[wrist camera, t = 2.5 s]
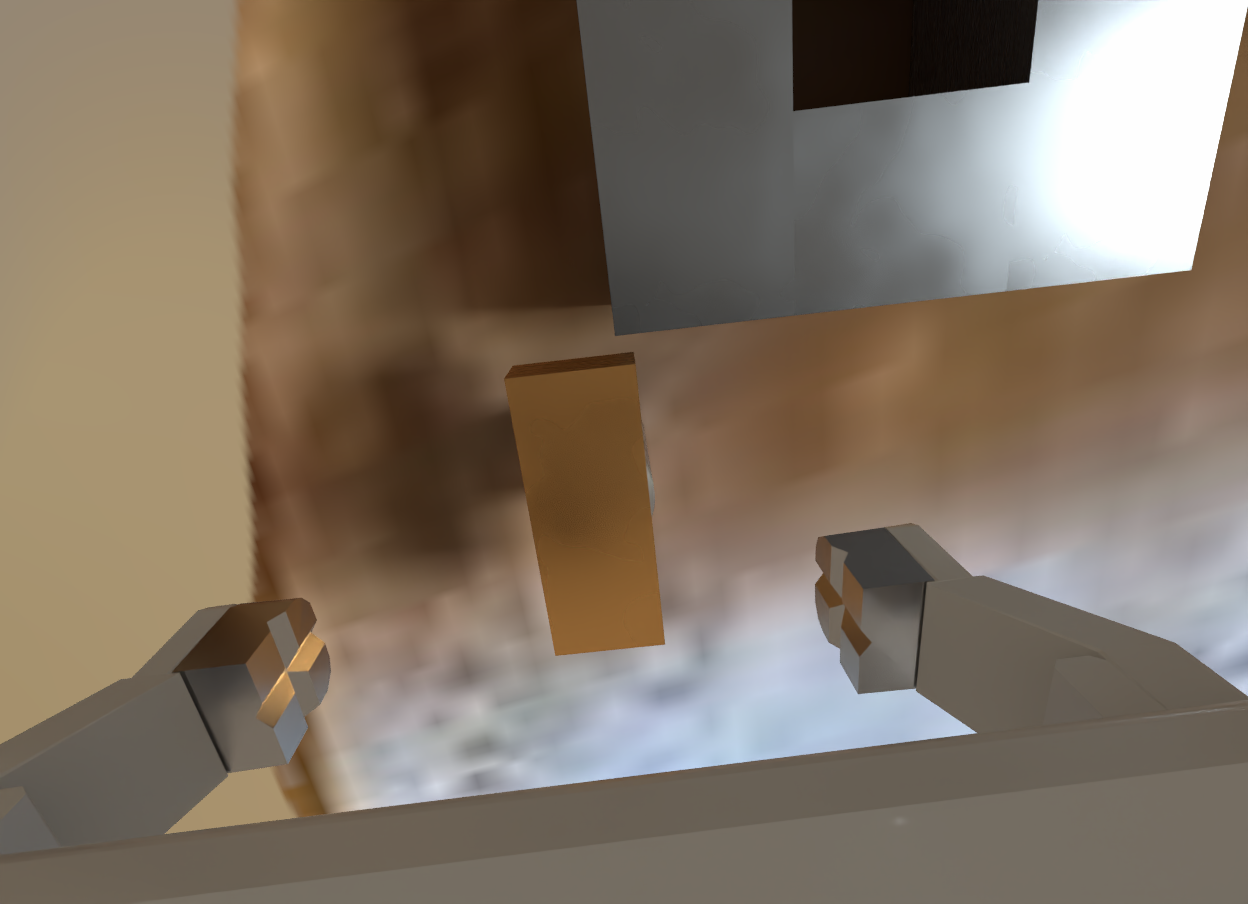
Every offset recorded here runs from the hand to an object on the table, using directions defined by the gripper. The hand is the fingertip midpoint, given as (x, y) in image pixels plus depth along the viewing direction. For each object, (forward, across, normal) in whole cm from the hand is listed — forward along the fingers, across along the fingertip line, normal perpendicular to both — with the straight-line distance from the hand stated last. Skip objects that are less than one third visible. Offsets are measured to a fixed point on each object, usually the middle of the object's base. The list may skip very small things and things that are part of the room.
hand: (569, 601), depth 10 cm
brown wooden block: (+10, 0, +1) cm, 10 cm away
